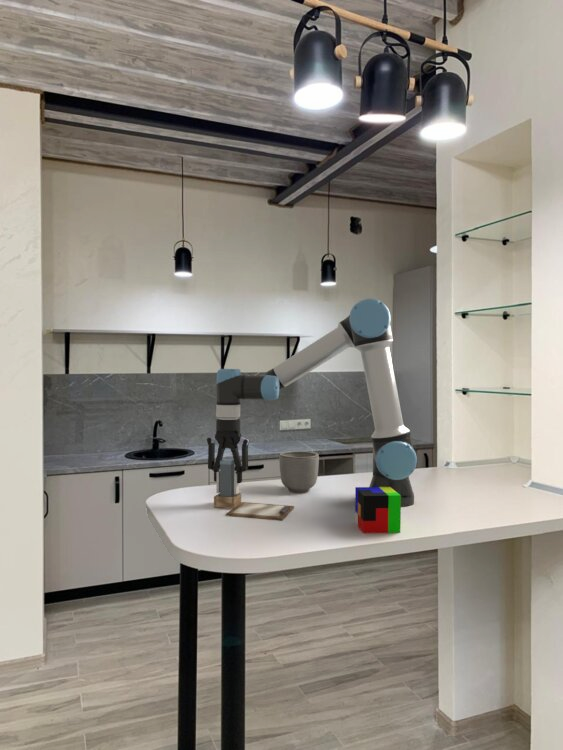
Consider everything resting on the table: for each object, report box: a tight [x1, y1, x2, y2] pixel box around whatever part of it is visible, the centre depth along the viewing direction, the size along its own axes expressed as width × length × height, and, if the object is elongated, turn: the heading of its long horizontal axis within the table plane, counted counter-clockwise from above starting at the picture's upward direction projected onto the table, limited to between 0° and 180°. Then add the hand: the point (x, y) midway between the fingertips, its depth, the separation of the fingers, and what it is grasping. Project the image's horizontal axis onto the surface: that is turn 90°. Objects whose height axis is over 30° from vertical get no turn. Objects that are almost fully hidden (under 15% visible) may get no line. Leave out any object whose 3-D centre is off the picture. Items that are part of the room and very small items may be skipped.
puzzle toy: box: [354, 486, 402, 534], centre depth 150 cm, size 10×10×10 cm
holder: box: [213, 492, 242, 510], centre depth 171 cm, size 7×7×3 cm
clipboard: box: [225, 501, 295, 521], centre depth 165 cm, size 17×14×1 cm
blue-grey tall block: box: [219, 458, 236, 497], centre depth 171 cm, size 4×4×14 cm
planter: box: [278, 450, 320, 494], centre depth 192 cm, size 14×14×13 cm
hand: (227, 492), depth 171 cm, fingers open, 5 cm apart
